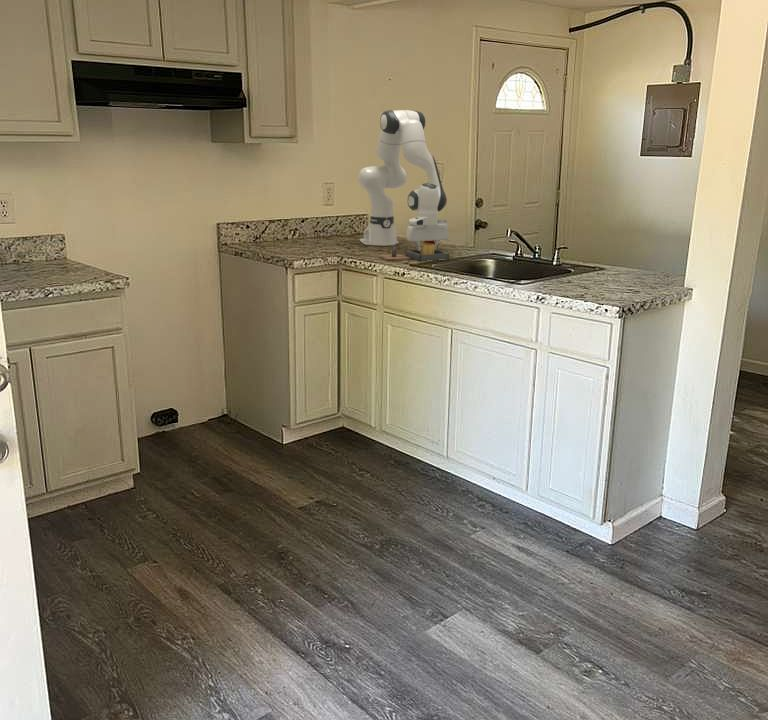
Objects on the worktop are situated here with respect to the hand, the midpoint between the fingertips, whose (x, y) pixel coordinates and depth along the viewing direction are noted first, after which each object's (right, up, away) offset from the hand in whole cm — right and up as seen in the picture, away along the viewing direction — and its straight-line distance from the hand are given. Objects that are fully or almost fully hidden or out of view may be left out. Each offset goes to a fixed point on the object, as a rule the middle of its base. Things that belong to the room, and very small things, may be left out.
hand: (427, 250), depth 351 cm
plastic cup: (+3, +3, +22) cm, 23 cm away
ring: (0, -2, 0) cm, 2 cm away
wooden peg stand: (-15, -4, -1) cm, 16 cm away
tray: (0, -3, +1) cm, 4 cm away
